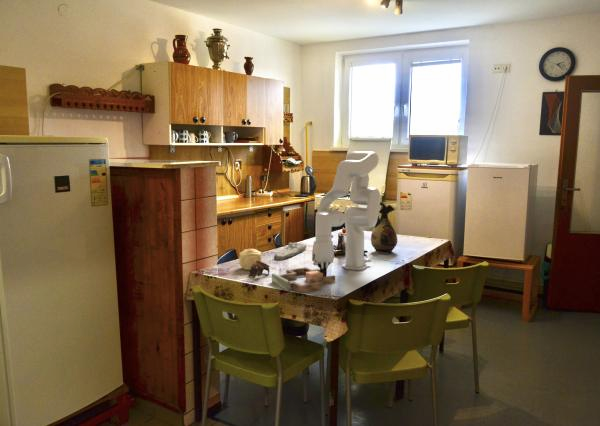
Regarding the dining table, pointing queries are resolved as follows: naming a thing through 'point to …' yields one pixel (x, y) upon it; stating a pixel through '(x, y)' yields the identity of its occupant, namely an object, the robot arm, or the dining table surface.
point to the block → (313, 275)
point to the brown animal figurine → (258, 268)
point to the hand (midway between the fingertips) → (323, 276)
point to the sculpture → (249, 258)
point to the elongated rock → (290, 251)
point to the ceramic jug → (384, 232)
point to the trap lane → (298, 273)
